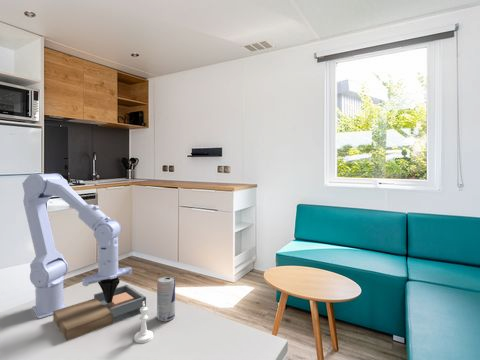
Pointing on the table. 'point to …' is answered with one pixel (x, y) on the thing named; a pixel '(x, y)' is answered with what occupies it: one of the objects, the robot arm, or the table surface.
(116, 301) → the terracotta tile
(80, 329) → the walnut plate
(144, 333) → the chess piece
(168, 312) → the energy drink
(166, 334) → the table surface
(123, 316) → the tray
